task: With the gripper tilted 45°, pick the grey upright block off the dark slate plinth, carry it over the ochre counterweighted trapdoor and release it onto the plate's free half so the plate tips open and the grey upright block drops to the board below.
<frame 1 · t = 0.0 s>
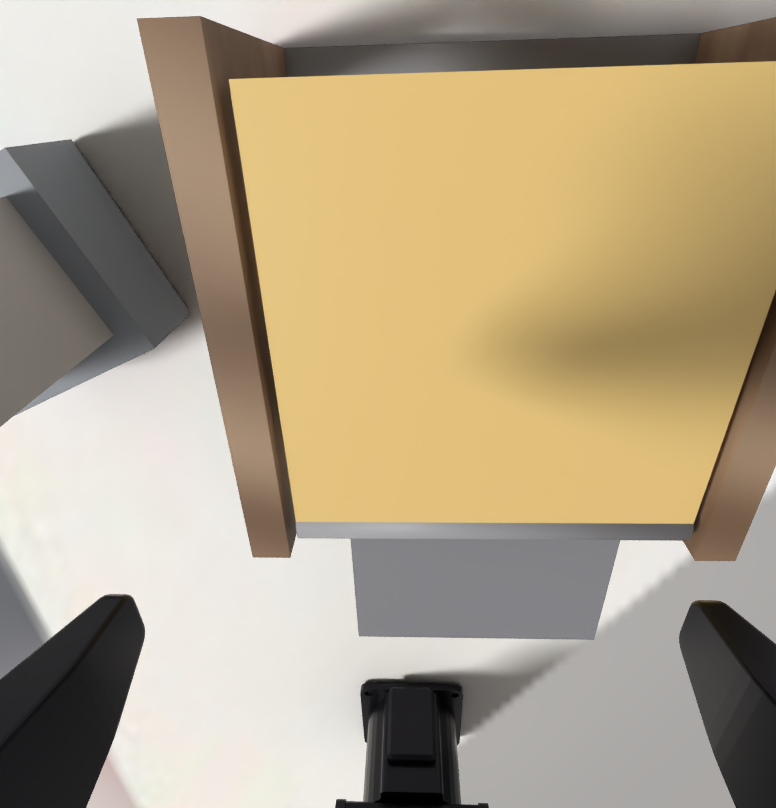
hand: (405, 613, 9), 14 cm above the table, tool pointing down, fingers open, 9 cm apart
plinth: (65, 271, 21), on the table
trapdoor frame: (466, 401, 23), on the table
trapdoor: (488, 421, 17), point 6 cm above the table, hinge at 0.0°
grey upright block: (7, 301, 18), point 3 cm above the table, touching plinth
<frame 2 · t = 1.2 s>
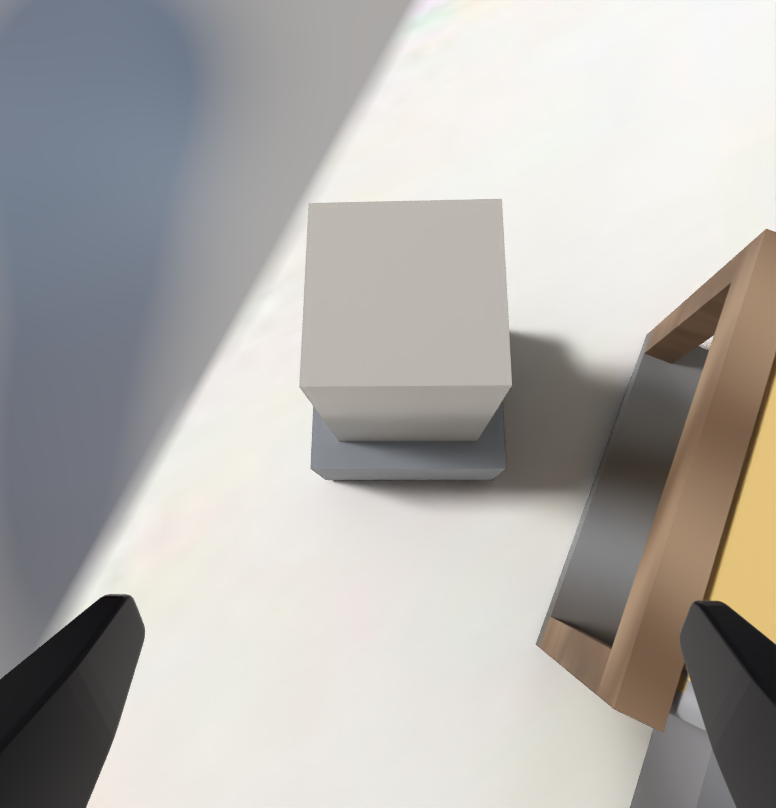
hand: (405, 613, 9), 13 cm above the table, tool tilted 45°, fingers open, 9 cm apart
plinth: (407, 399, 23), on the table
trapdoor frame: (737, 709, 20), on the table
grey upright block: (407, 375, 20), point 3 cm above the table, touching plinth
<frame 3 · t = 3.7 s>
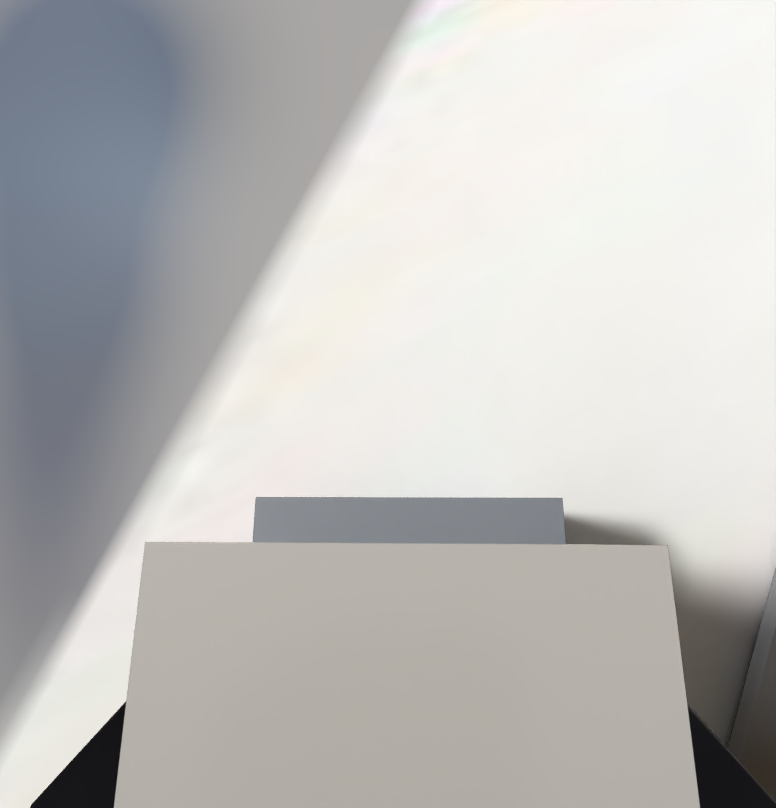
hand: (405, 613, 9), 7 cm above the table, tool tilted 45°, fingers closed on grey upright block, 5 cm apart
plinth: (408, 636, 15), on the table
grey upright block: (407, 664, 11), point 3 cm above the table, touching gripper, plinth
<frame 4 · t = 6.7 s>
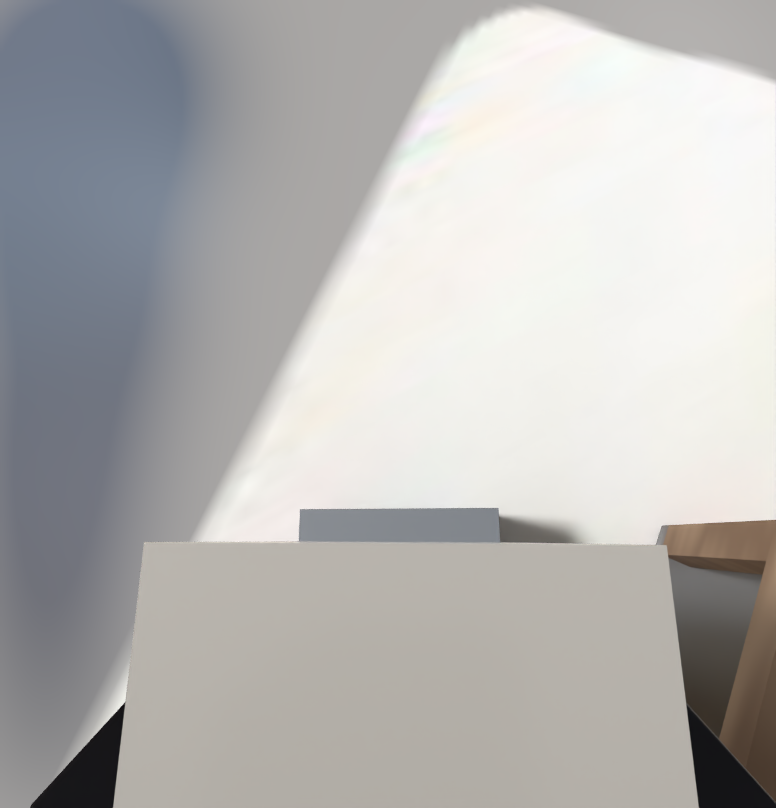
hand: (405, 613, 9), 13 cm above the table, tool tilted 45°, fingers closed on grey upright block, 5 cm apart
plinth: (401, 602, 21), on the table
grey upright block: (407, 663, 11), point 10 cm above the table, touching gripper
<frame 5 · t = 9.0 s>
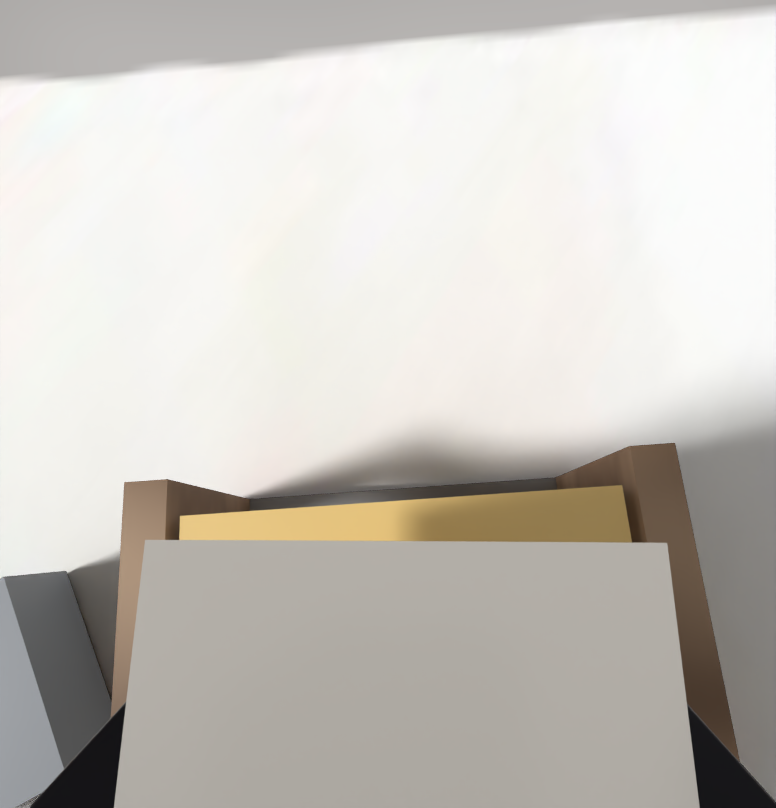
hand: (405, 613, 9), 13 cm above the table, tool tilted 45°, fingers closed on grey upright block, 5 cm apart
plinth: (12, 695, 21), on the table
grey upright block: (407, 662, 11), point 10 cm above the table, touching gripper
when the fingers open (13 cm above the table, at t = 9.7 s): grey upright block drops 7 cm and tips over, resting on trapdoor.
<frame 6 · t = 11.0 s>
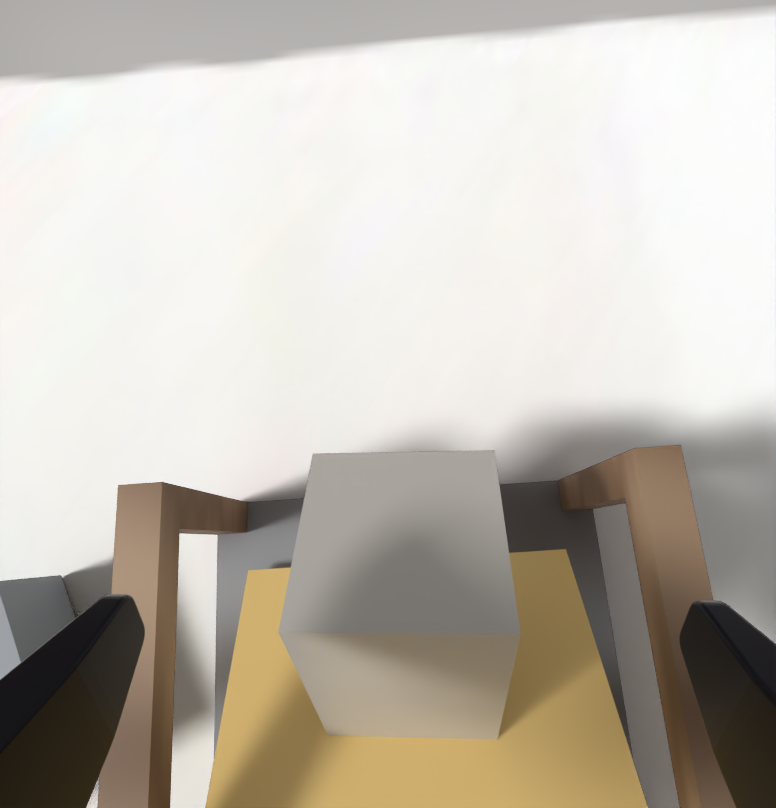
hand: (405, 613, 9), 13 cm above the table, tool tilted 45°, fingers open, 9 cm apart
plinth: (5, 702, 21), on the table
grey upright block: (412, 651, 17), point 3 cm above the table, tilted 33°, touching trapdoor
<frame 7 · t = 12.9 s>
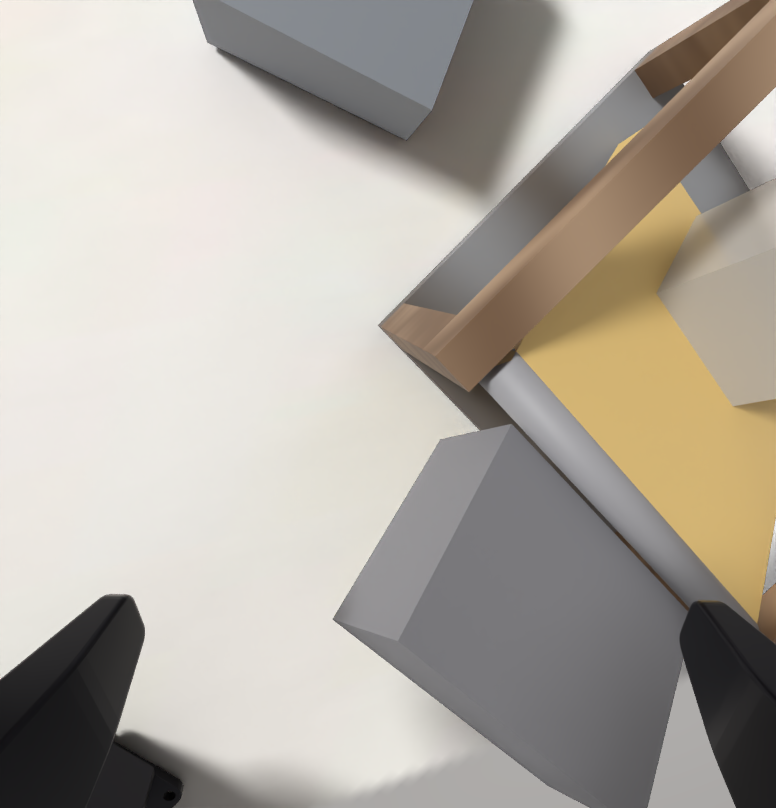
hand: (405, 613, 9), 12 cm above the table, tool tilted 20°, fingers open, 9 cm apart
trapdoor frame: (519, 436, 22), on the table
trapdoor: (613, 445, 17), point 5 cm above the table, hinge at -32.7°, touching grey upright block
grey upright block: (713, 308, 19), point 3 cm above the table, tilted 33°, touching trapdoor
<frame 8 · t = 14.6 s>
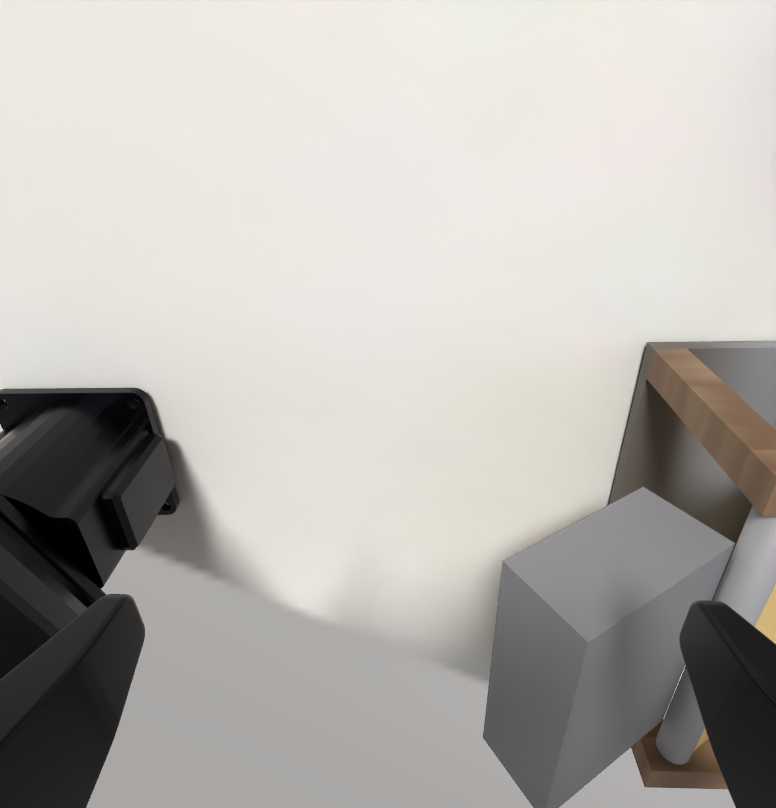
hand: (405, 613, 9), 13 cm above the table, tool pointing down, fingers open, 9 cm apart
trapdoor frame: (633, 496, 24), on the table
trapdoor: (723, 582, 19), point 5 cm above the table, hinge at -32.7°, touching grey upright block
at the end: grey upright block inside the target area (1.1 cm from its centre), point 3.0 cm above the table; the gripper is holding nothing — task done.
